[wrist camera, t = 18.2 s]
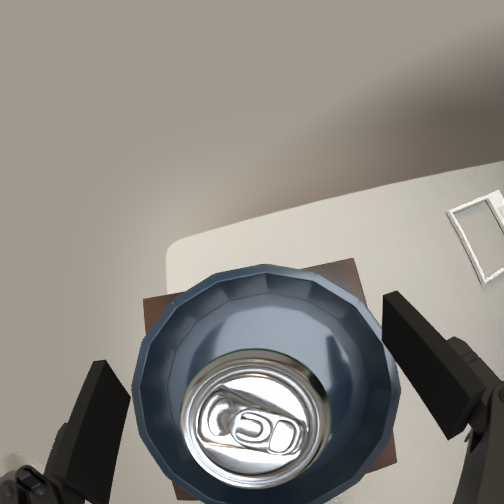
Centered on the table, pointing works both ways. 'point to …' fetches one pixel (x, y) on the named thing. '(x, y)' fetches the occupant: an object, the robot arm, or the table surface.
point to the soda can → (255, 418)
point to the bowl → (279, 339)
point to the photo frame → (499, 207)
